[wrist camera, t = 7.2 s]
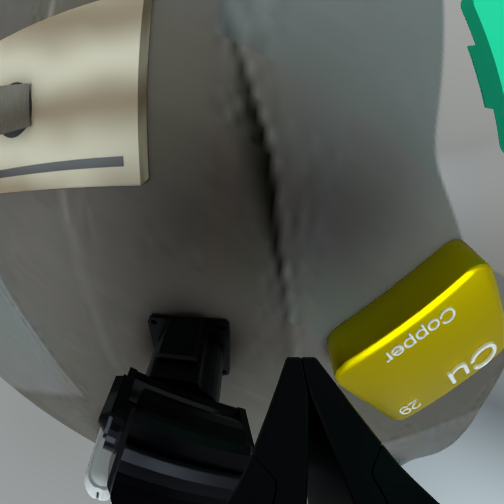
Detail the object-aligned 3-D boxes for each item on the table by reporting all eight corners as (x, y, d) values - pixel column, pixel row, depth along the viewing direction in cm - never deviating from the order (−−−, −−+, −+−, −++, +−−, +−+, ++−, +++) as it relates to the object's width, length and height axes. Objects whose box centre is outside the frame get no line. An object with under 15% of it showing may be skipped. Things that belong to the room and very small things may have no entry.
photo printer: (127, 442, 36) (111, 507, 25) (102, 432, 35) (82, 497, 25) (136, 419, 32) (115, 500, 21) (105, 406, 31) (79, 486, 20)
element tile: (458, 226, 19) (493, 256, 15) (492, 319, 24) (512, 348, 20) (316, 337, 24) (325, 381, 20) (388, 395, 29) (398, 427, 25)
